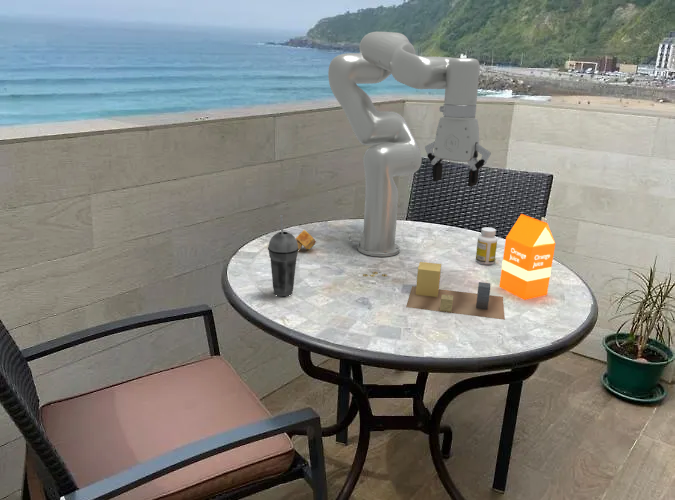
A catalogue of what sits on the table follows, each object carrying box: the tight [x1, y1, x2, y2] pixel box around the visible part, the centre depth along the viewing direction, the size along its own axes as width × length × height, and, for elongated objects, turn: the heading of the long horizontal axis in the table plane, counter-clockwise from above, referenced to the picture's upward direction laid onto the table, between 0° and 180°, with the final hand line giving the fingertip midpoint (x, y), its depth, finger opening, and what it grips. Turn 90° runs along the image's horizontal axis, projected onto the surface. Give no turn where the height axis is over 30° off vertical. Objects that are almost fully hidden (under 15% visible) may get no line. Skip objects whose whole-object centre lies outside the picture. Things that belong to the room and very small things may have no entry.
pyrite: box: [295, 229, 317, 250], centre depth 172 cm, size 5×7×4 cm
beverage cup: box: [267, 214, 300, 297], centre depth 139 cm, size 7×7×20 cm
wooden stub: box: [439, 295, 453, 313], centre depth 134 cm, size 3×3×3 cm
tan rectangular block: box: [415, 261, 442, 297], centre depth 142 cm, size 5×5×7 cm
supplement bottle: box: [475, 226, 498, 266], centre depth 167 cm, size 5×5×10 cm
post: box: [476, 281, 491, 310], centre depth 135 cm, size 3×3×6 cm
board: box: [405, 285, 506, 321], centre depth 139 cm, size 22×13×1 cm, turn 77°
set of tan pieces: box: [362, 271, 388, 278], centre depth 153 cm, size 5×5×2 cm
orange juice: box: [499, 213, 556, 301], centre depth 143 cm, size 8×9×20 cm
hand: (454, 183), depth 145 cm, fingers open, 9 cm apart
